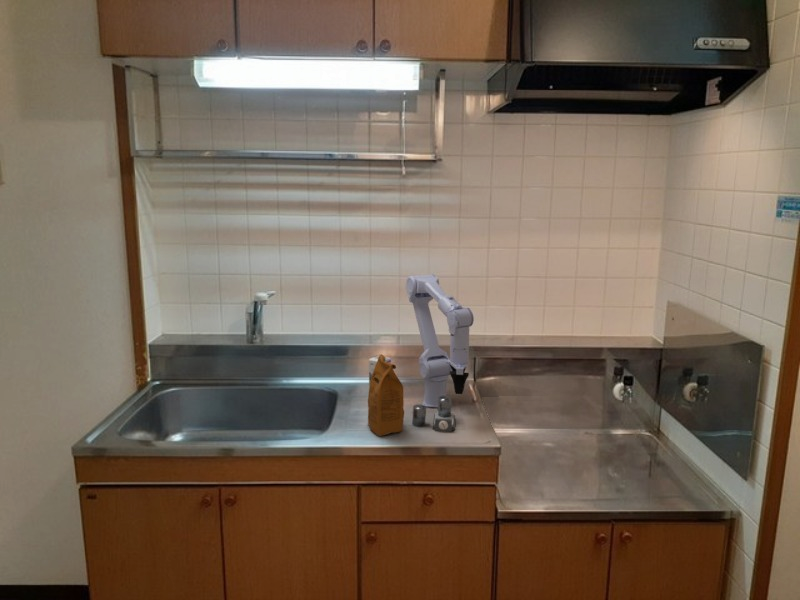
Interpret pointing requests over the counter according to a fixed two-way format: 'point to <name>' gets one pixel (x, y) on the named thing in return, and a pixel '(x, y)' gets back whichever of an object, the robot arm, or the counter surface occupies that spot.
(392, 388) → the coffee package
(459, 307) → the robot arm
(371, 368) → the syrup box
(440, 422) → the dial scale
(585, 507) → the counter surface
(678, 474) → the counter surface
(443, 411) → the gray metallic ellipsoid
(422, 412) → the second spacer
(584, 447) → the counter surface
